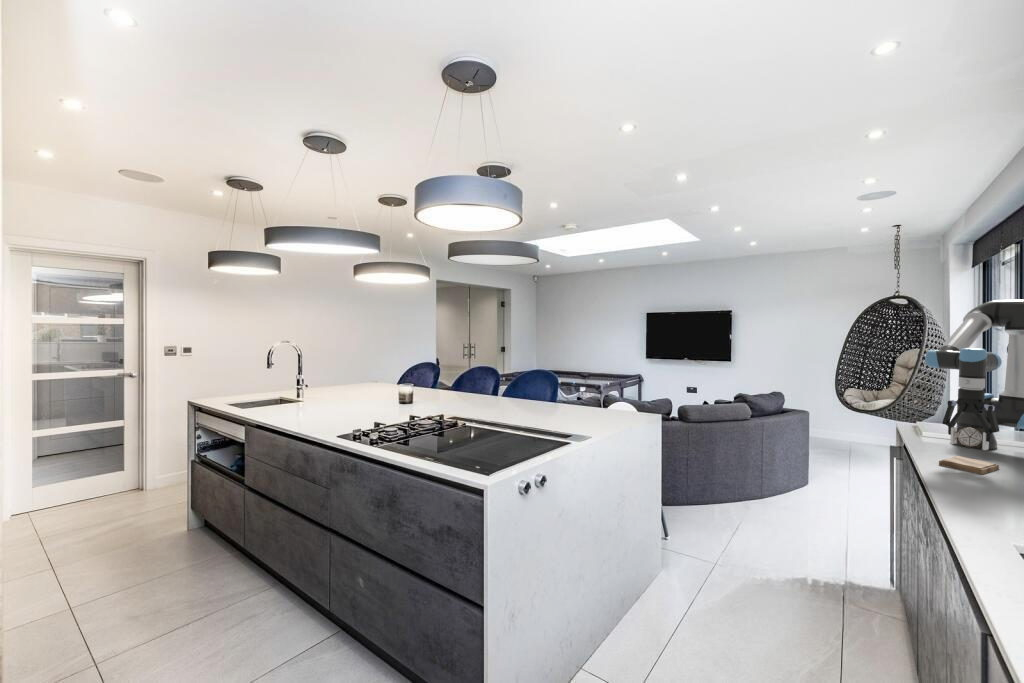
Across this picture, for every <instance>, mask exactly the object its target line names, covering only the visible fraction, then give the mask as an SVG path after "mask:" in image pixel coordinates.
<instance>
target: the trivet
mask: <svg viewBox="0 0 1024 683" xmlns="http://www.w3.org/2000/svg"><path fill="white" fill-rule="evenodd" d="M938 465H939V466H942V465H943V467H947V466H948V468H951V467H952V468H951V469H957V470H960V471H965V472H969V473H973V474H979V475H983V474H988V473H990V472H994V471H997V470H999V468H1000V464H997V463H994V462H989V461H985V460H979V459H974V458H970V457H965V456H961V455H956V456H952V457H948V458H944V459H941V460H939V461H938Z"/></svg>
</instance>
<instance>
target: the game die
mask: <svg viewBox="0 0 1024 683" xmlns="http://www.w3.org/2000/svg"><path fill="white" fill-rule="evenodd" d="M961 428H962V429H961V430H959V431H958V432H956V433H957V438H955V439H958V440H959V441H960V443H961V444H960V445H962V444H964V445H966V446H969V447H968V449H971V448H970V447H971V446H977V445H978V444H980V443H981V442H983V441H982V436H983V434H982V435H981V433H980V432H979V431H978V430H979V428H978V429H974V428H971V427H970V425H969V427H967V428H963V427H961ZM960 445H959V446H960ZM977 447H978V446H977Z"/></svg>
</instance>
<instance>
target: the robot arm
mask: <svg viewBox="0 0 1024 683" xmlns="http://www.w3.org/2000/svg"><path fill="white" fill-rule="evenodd" d="M995 327H1000V328H1003V327H1004V332H1005V333H1006V334H1008V342H1007V343H1008V344H1007V354H1006V356H1007V357H1006V367H1005V368H1006V369H1005V382H1004V390H1003V391H1002V392H1001V393H998V397H995V395H994V394H993V393H988V392H986V391H985V389H986V374H987V372H988V373H989V372H993V371H995V370H998V369H999V368H1000V367H1001V365H1002V358H1001V356H1000V355H998V354H997V353H995V352H991V351H987V350H986V349H985V348H975V347H972V348H971V346H972V345H973V344H974V343H975V341H977V339H979V337H980V336H981V335H982V333H983V332H986V331H988V330H989V329H990V328H995ZM924 359H925V364H926V366H928V368H934V369H942V370H943V369H945V370H958V387H959V388H958V389H957V400H954V399H953V400H952V399H951V400H947V408H946V411H945V414H944V417H943V420H942V424H943V425H946V426H947V428H948V430H947V434H948V435H950V442H949V443H950V444H949V445H956V446H960V447H964V448H965V447H966V448H969V446H966V445H964V444H962V445H960V444H961V443H960V441H959V440H958V439H955V438H957V433H956V432H958V431H959V430H961V429H962V428H961V427H963V428H967V427H969V425H970V427H971V428H974V429H978V428H979V430H978V431H979V432H980V433H981V435H982V434H983V436H982V441H983V442H981V443H980V444H978V445H977V446H978V447H977V446H971V447H970V449H971V448H972V449H979V450H982V451H988V450H995V449H997V448H998V442H997V439H996V436H995V434H996V433H999V432H1000V427H1006V428H1007V427H1009V428H1013V429H1014V428H1016V429H1019V430H1021V429H1023V430H1024V299H1021V298H1019V299H994V300H990V301H987V302H984V303H982V304H980V305H978V306H975V307H974V308H972V309H971V310H970V311H968V312H967V313H966V314H965V315H964V317H963V319H962V323H961V324H960V325H959V327H958V328H957V329H956V330H955V331H954V332H953V333H952V335H950V337H949V338H948V339H947V340H946V341H945V342H944V343H943V345H942V346H941V347H940V348H939V349H930V350H928V351H927V352H926V354H925V358H924ZM955 408H956V413H955V414H954V416H953V413H954V411H955ZM952 416H953V417H952ZM994 433H995V434H994Z"/></svg>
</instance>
